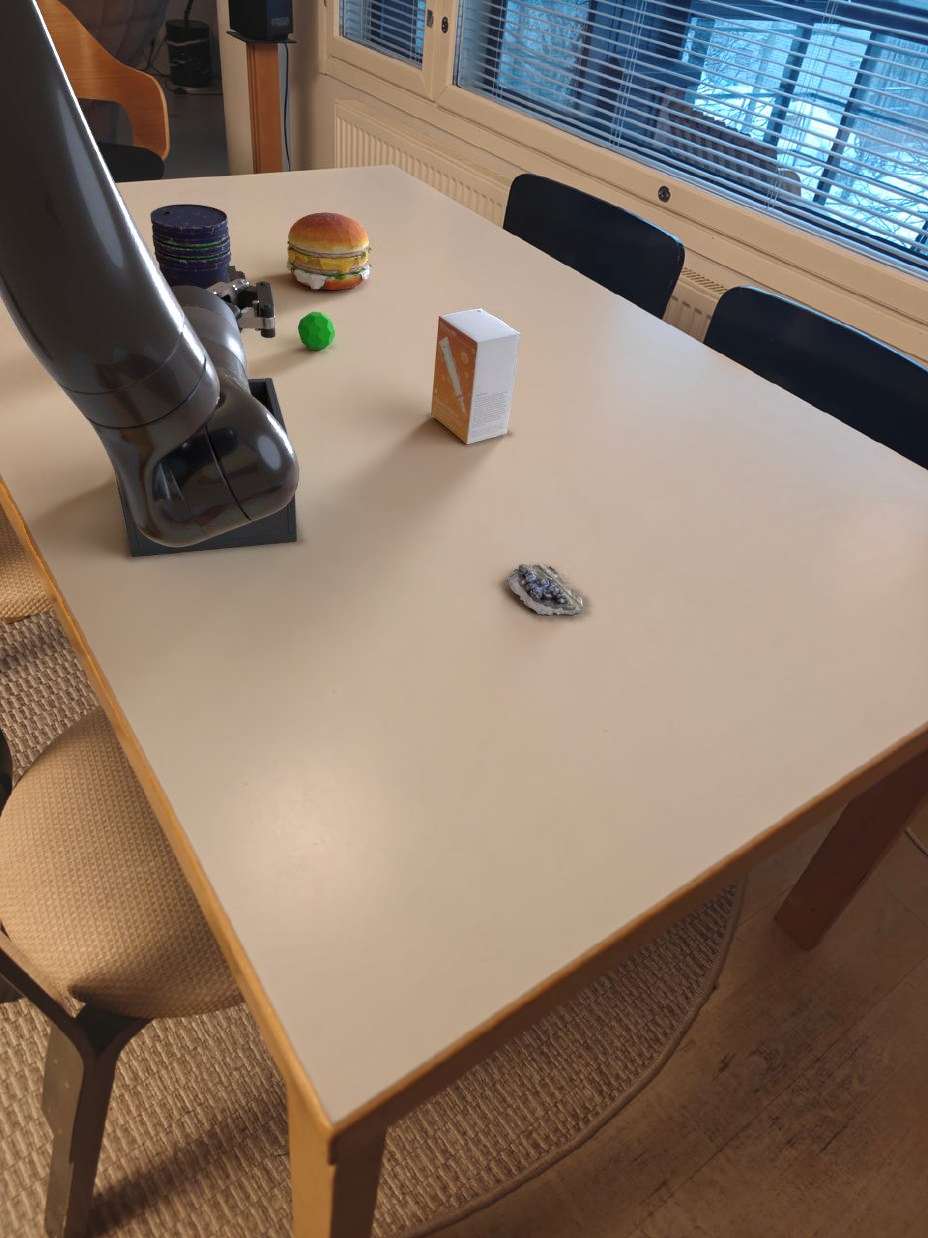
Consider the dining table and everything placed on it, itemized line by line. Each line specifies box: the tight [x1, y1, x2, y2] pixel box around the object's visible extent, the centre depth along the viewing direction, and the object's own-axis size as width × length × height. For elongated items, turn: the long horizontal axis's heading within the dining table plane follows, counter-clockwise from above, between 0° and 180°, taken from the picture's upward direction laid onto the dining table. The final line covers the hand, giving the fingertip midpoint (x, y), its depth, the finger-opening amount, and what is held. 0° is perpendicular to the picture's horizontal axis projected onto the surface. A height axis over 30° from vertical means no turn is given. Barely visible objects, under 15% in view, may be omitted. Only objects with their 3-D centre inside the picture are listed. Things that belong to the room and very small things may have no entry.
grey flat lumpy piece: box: [504, 563, 584, 616], centre depth 83 cm, size 7×8×2 cm
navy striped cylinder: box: [149, 203, 232, 289], centre depth 117 cm, size 10×10×15 cm
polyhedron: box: [297, 311, 336, 351], centre depth 118 cm, size 5×5×5 cm
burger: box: [286, 211, 373, 291], centre depth 136 cm, size 13×14×10 cm
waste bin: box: [114, 377, 298, 558], centre depth 86 cm, size 16×16×10 cm
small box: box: [430, 307, 521, 445], centre depth 103 cm, size 8×6×13 cm
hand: (181, 276), depth 75 cm, fingers open, 8 cm apart
